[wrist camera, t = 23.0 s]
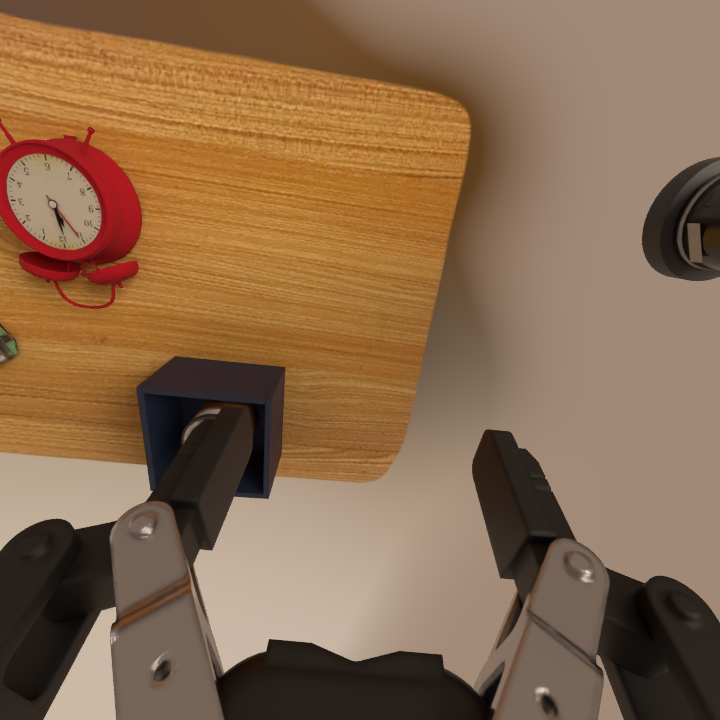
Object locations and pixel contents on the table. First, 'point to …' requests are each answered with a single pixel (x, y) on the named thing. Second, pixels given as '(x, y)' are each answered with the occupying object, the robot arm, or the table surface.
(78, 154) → the alarm clock
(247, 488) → the bin
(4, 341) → the keyboard
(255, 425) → the paper cup
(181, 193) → the table surface
